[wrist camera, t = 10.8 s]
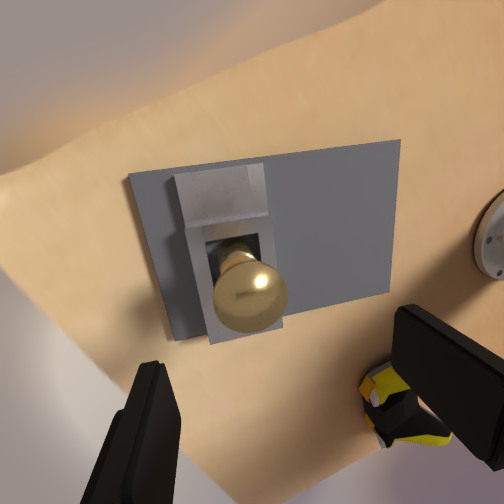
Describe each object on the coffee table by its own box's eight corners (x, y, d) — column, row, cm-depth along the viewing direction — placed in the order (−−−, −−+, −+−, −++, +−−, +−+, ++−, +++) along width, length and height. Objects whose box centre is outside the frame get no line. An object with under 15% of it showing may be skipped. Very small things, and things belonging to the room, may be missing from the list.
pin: (253, 226, 22) (285, 258, 13) (258, 270, 23) (290, 324, 15) (204, 234, 21) (206, 273, 13) (213, 279, 23) (220, 340, 14)
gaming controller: (418, 333, 32) (350, 361, 31) (459, 363, 27) (380, 398, 26) (422, 407, 37) (365, 433, 36) (458, 445, 32) (392, 476, 31)
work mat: (392, 140, 23) (400, 139, 22) (383, 288, 28) (389, 292, 27) (131, 173, 20) (128, 173, 19) (176, 334, 25) (175, 341, 24)
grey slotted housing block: (259, 163, 20) (266, 162, 18) (275, 313, 25) (283, 327, 23) (175, 174, 19) (172, 174, 17) (209, 329, 24) (210, 344, 22)
